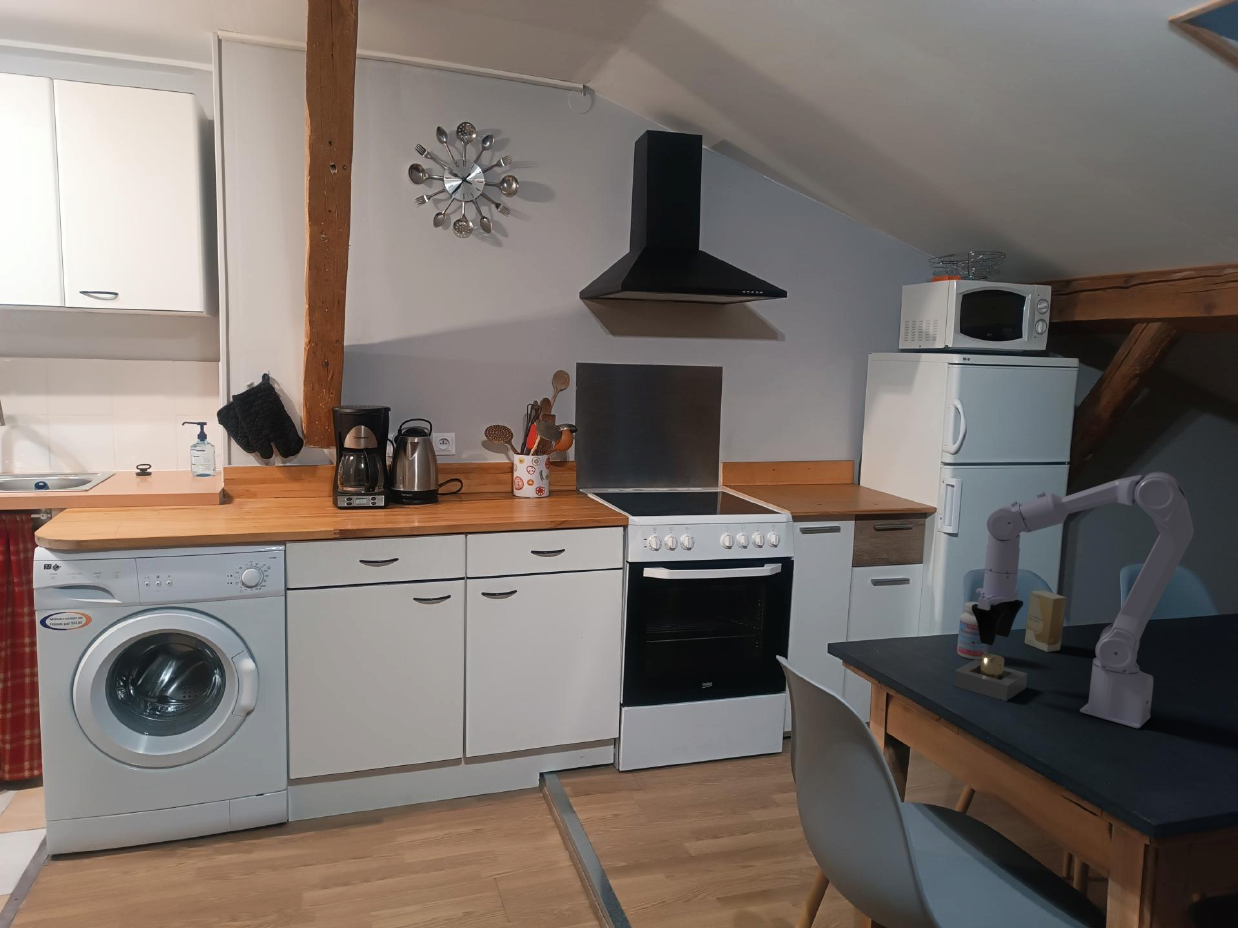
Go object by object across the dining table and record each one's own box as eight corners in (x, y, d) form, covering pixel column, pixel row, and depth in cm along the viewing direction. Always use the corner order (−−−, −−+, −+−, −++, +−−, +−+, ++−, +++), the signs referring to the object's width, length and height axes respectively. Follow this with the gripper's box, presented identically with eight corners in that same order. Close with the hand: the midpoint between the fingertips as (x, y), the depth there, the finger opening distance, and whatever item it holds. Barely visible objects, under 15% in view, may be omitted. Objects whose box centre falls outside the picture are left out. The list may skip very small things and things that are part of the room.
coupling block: (1025, 688, 167) (1027, 673, 167) (1006, 701, 160) (1007, 685, 160) (974, 673, 174) (975, 659, 174) (953, 685, 167) (954, 670, 167)
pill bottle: (955, 656, 184) (959, 605, 183) (958, 649, 190) (963, 599, 188) (985, 662, 182) (990, 610, 180) (988, 654, 187) (993, 603, 186)
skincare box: (1023, 643, 196) (1028, 590, 194) (1037, 641, 198) (1042, 589, 196) (1048, 652, 190) (1053, 598, 188) (1062, 650, 192) (1067, 596, 190)
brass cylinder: (1005, 688, 167) (1008, 658, 166) (995, 692, 165) (998, 662, 164) (985, 681, 170) (988, 652, 169) (975, 686, 168) (977, 656, 167)
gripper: (994, 561, 173) (988, 627, 174) (964, 571, 162) (958, 641, 164) (1031, 567, 168) (1024, 636, 169) (1003, 579, 157) (996, 651, 159)
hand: (994, 639), depth 166 cm, fingers open, 7 cm apart
